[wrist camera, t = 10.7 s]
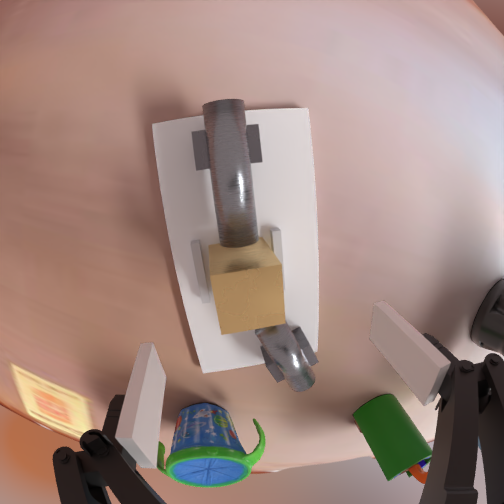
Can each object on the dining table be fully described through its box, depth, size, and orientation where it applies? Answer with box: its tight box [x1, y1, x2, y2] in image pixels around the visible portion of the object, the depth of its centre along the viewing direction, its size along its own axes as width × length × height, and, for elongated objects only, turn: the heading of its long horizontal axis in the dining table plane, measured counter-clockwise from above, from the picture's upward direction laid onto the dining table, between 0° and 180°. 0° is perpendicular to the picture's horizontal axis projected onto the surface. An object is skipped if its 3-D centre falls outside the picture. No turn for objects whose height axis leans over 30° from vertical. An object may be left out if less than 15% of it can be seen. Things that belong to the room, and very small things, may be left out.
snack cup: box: [157, 403, 265, 487], centre depth 29 cm, size 16×10×10 cm
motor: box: [353, 394, 432, 484], centre depth 32 cm, size 10×9×20 cm
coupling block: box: [208, 237, 286, 335], centre depth 23 cm, size 5×5×7 cm
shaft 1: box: [191, 99, 263, 248], centre depth 21 cm, size 10×5×6 cm, turn 6°
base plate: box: [152, 108, 319, 373], centre depth 26 cm, size 14×27×2 cm, turn 6°
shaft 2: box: [255, 320, 318, 392], centre depth 27 cm, size 9×5×6 cm, turn 26°
